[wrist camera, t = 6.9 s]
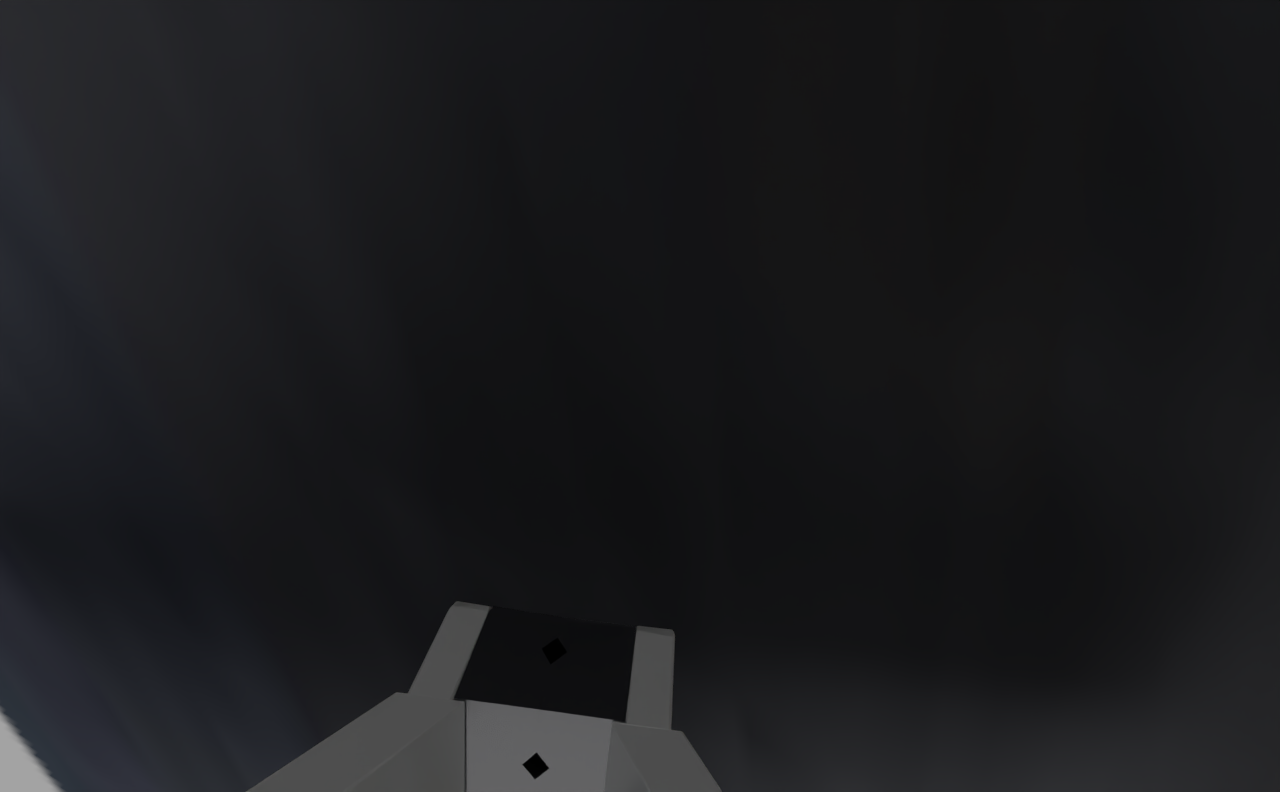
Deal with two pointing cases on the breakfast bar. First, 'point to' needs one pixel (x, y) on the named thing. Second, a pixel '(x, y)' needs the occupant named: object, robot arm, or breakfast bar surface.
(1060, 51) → the breakfast bar surface
